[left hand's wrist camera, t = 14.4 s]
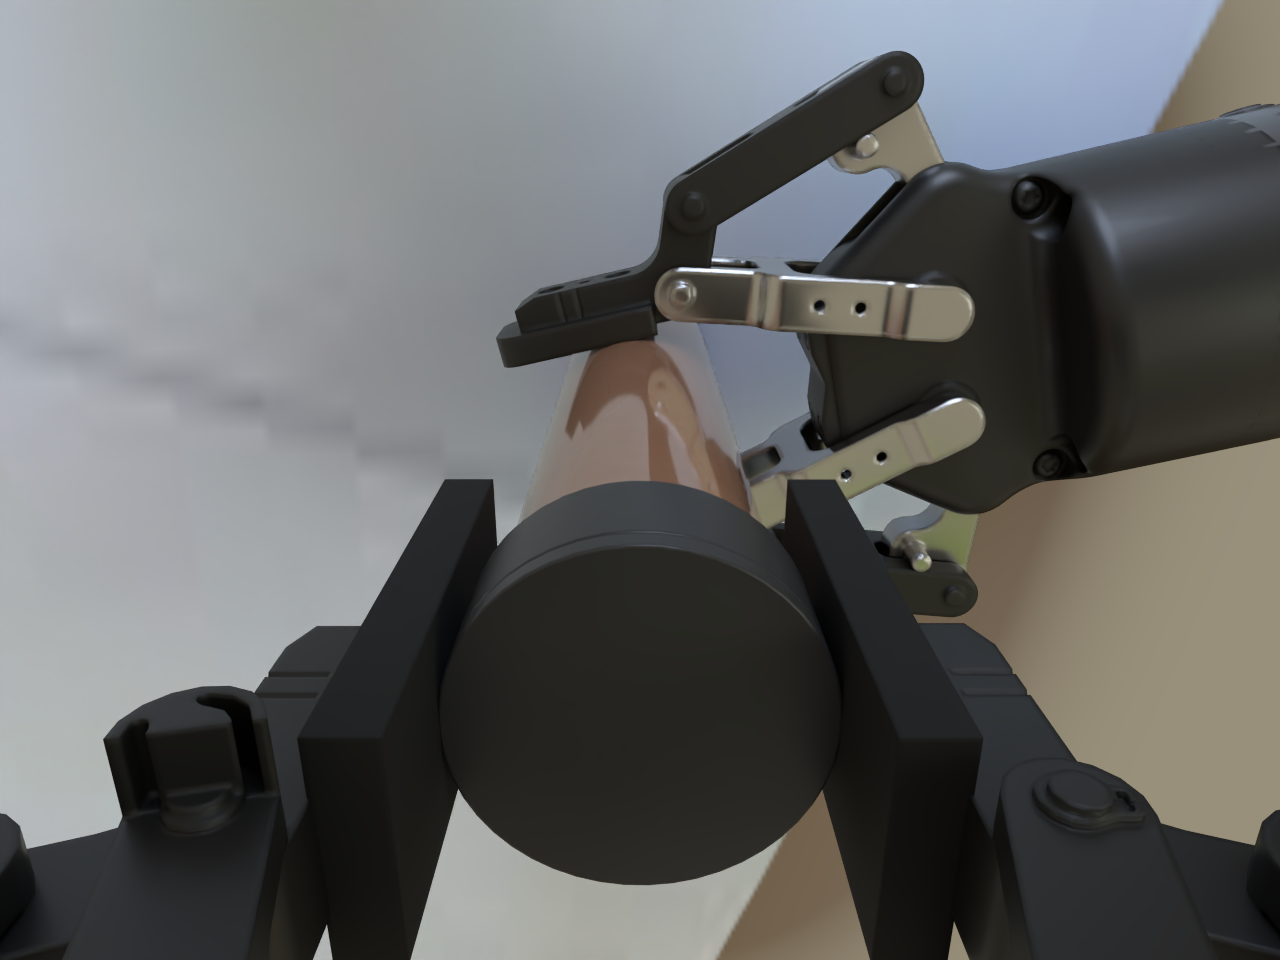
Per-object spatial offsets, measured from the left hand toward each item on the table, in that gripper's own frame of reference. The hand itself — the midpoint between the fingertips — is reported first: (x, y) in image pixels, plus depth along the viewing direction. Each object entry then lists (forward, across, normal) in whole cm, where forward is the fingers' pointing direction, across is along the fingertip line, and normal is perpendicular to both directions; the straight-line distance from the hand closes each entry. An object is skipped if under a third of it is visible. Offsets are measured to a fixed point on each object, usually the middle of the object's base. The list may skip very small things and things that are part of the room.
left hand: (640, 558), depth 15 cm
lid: (-4, 0, 0) cm, 4 cm away
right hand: (+8, -3, -1) cm, 9 cm away
